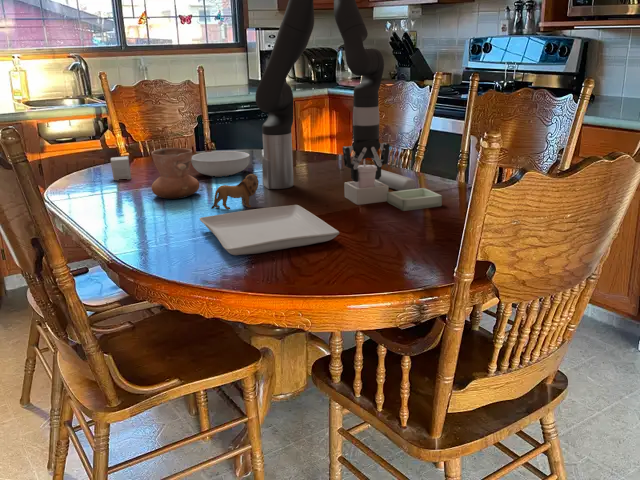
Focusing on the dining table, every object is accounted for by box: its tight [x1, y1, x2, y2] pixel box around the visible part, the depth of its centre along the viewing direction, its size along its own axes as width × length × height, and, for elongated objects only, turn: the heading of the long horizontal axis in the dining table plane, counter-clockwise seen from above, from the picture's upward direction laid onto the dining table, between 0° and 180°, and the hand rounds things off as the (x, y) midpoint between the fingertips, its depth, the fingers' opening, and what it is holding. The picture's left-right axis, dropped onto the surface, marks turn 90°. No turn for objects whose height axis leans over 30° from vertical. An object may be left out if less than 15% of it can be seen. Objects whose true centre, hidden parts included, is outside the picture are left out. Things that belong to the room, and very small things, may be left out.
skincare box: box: [110, 155, 132, 181], centre depth 210 cm, size 6×6×7 cm
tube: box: [375, 168, 417, 191], centre depth 189 cm, size 5×5×25 cm
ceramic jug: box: [151, 147, 200, 200], centre depth 183 cm, size 18×14×14 cm
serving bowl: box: [191, 150, 251, 178], centre depth 212 cm, size 21×21×7 cm
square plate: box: [199, 204, 340, 256], centre depth 144 cm, size 27×27×4 cm
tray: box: [386, 187, 443, 212], centre depth 168 cm, size 12×10×3 cm
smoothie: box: [357, 159, 377, 189], centre depth 173 cm, size 6×6×14 cm
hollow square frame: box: [344, 180, 390, 206], centre depth 174 cm, size 10×10×4 cm
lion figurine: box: [210, 173, 260, 210], centre depth 169 cm, size 15×5×9 cm, turn 117°
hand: (366, 180), depth 173 cm, fingers closed on smoothie, 6 cm apart
